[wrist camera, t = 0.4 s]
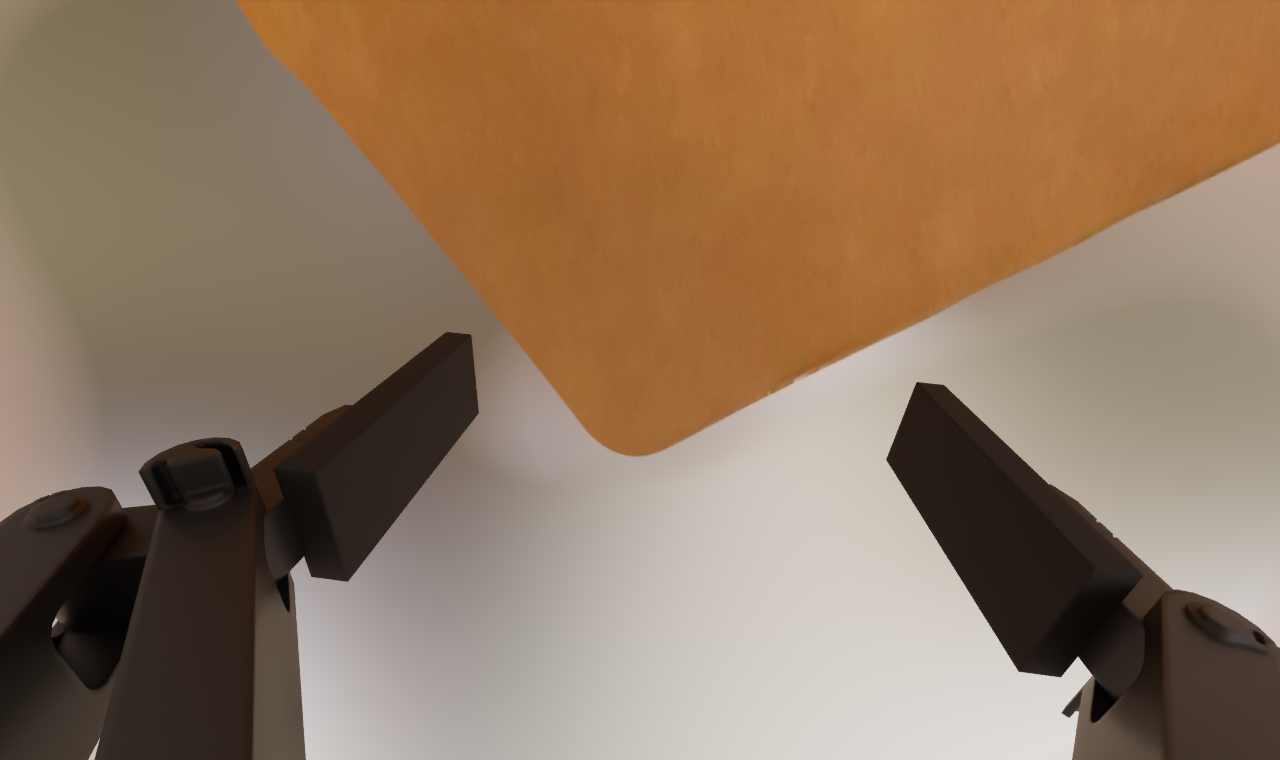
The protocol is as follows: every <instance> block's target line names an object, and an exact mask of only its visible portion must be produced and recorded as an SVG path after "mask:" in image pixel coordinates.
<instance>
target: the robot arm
mask: <svg viewBox="0 0 1280 760" xmlns="http://www.w3.org/2000/svg"><path fill="white" fill-rule="evenodd" d="M478 413H479V411H478V400H477V390H476V379H475V369H474V358H473V348H472V338H471V335H470V334H460V333H451V332H446V333H445V334H443V335H442V336H441V337H439V338H438V339H437V340H436V341H435V342H433V343H432V344H430V345H429V346H428V347H427V348H425V349H424V350H423V351H422V352H420V353H419V354H418V355H416V356H415V357H414V358H413V359H411V360H410V361H409V362H407V363H406V364H405V365H404V366H402V367H401V368H400V369H399V370H397V371H396V372H395V373H393V374H392V375H391V376H390V377H388V378H387V379H386V380H385V381H383V382H382V383H381V384H379V385H378V386H377V387H376V388H374V389H373V390H372V391H370V392H369V393H368V394H367V395H365V396H364V397H363V398H361V399H360V400H359V401H358V402H356V403H355V404H354V405H344V406H342V407H340V408H337V409H335V410H333V411H330V412H328V413H326V414H324V415H322V416H321V417H319V418H318V419H317V420H315V421H314V422H313V423H311V424H310V425H309V426H307V428H306V430H302V431H301V432H299V433H298V434H297V435H296V436H294V437H293V439H292V440H288V441H287V442H286V443H284V444H283V445H282V446H280V447H279V448H278V449H276V450H275V451H274V452H272V453H271V454H270V455H268V456H267V457H266V458H264V459H263V460H262V461H260V462H259V463H258V464H256V465H255V466H254V467H252V468H251V469H250V467H249V464H248V462H247V459H246V456H245V454H244V451H243V449H242V447H241V444H240V442H238V441H236V440H233V439H230V438H207V439H200V440H195V441H191V442H187V443H184V444H181V445H177V446H175V447H172V448H170V449H168V450H166V451H163V452H161V453H159V454H157V455H156V456H154V457H153V458H151V459H150V460H148V461H147V462H146V463H145V464H144V465H143V467H142V468H141V469H140V471H139V474H140V475H141V477H142V480H143V481H144V483H145V485H146V487H147V489H148V491H149V493H150V495H151V497H152V499H153V500H154V503H155V504H156V505H149V506H139V507H129V508H122V507H121V505H120V503H119V501H118V500H117V498H116V496H115V495H114V493H113V491H112V490H111V489H108V488H104V487H100V486H99V487H81V488H77V489H72V490H67V491H61V492H57V493H54V494H52V495H50V496H49V495H48V496H45V497H42V498H40V499H38V500H36V501H35V502H33V503H31V504H28V505H26V506H24V507H22V508H20V509H18V510H17V511H15V512H14V513H12V514H11V515H10V516H8V517H7V518H5V519H4V520H3V521H1V522H0V760H88V759H89V757H90V755H91V753H92V751H93V749H94V747H95V746H96V744H97V742H98V740H99V738H100V741H99V745H98V749H97V752H96V757H95V760H306V758H305V743H304V728H303V713H302V697H301V682H300V667H299V653H298V637H297V621H296V607H295V592H294V582H293V580H292V577H291V574H290V570H291V569H292V568H293V567H294V566H295V565H296V564H297V563H298V562H299V561H300V560H301V559H302V558H303V556H304V557H305V560H306V563H307V565H308V568H309V571H310V574H311V577H317V578H325V579H332V580H340V581H349V579H350V578H351V577H352V576H353V574H354V573H355V572H356V571H357V569H358V568H359V567H360V565H361V564H362V563H363V561H364V560H365V559H366V558H367V556H368V555H369V554H370V552H371V551H372V550H373V549H374V547H375V546H376V545H377V543H378V542H379V540H381V538H382V537H383V536H384V534H385V533H386V532H387V530H388V529H389V528H390V527H391V525H392V524H393V523H394V522H395V520H396V519H397V518H398V516H399V515H400V514H401V513H402V511H403V510H404V509H405V507H406V506H407V505H408V503H409V502H410V501H411V500H412V498H413V497H414V496H415V494H416V493H417V492H418V490H419V489H420V488H421V487H422V485H423V484H424V483H425V481H426V480H427V479H428V478H429V476H430V475H431V474H432V473H433V471H434V470H435V469H436V467H437V466H438V465H439V463H440V462H441V461H442V460H443V458H444V457H445V456H446V455H447V453H448V452H449V451H450V449H451V448H452V447H453V445H454V444H455V443H456V442H457V440H458V439H459V438H460V436H461V435H462V433H463V432H464V431H465V430H466V429H467V427H468V426H469V425H470V424H471V422H472V421H473V420H474V418H475V417H476V416H477V414H478ZM886 460H887V462H888V463H889V465H890V466H891V468H892V469H893V471H894V473H895V474H896V476H897V478H898V479H899V481H900V482H901V484H902V485H903V487H904V489H905V490H906V492H907V494H908V495H909V497H910V498H911V500H912V502H913V503H914V505H915V506H916V508H917V510H918V511H919V512H920V514H921V516H922V517H923V519H924V521H925V522H926V524H927V525H928V527H929V529H930V530H931V532H932V533H933V535H934V537H935V538H936V540H937V541H938V543H939V545H940V546H941V548H942V550H943V551H944V553H945V554H946V556H947V558H948V559H949V561H950V562H951V564H952V566H953V567H954V569H955V570H956V572H957V574H958V575H959V577H960V578H961V580H962V581H963V583H964V584H965V586H966V588H967V589H968V591H969V593H970V594H971V596H972V597H973V599H974V601H975V602H976V604H977V606H978V607H979V609H980V610H981V612H982V613H983V615H984V617H985V618H986V620H987V622H988V623H989V625H990V626H991V628H992V630H993V631H994V633H995V634H996V636H997V637H998V639H999V641H1000V642H1001V644H1002V645H1003V647H1004V649H1005V650H1006V652H1007V653H1008V655H1009V657H1010V658H1011V660H1012V661H1013V663H1014V665H1015V666H1016V668H1017V669H1018V671H1019V672H1026V673H1034V674H1041V675H1048V676H1056V677H1061V676H1062V675H1063V674H1064V672H1066V670H1067V669H1068V668H1069V667H1070V665H1071V664H1072V663H1073V662H1074V660H1075V659H1076V658H1077V657H1079V658H1080V659H1081V661H1082V662H1083V663H1084V665H1085V666H1086V667H1087V669H1088V670H1089V671H1090V672H1091V674H1092V675H1093V676H1092V677H1091V678H1090V679H1089V681H1088V682H1087V683H1086V684H1085V685H1084V686H1083V687H1082V688H1081V690H1080V691H1079V692H1078V693H1077V694H1076V695H1075V697H1074V698H1073V699H1072V700H1071V701H1070V702H1069V704H1068V705H1067V706H1066V707H1065V709H1064V710H1063V712H1062V713H1063V714H1064V715H1066V716H1067V717H1070V716H1071V715H1072V714H1073V713H1074V712H1075V711H1079V717H1078V724H1077V730H1076V737H1075V744H1074V752H1073V759H1072V760H1280V648H1279V647H1277V646H1276V644H1275V643H1274V641H1272V640H1271V639H1270V638H1269V637H1268V636H1267V635H1266V634H1265V633H1264V632H1263V631H1262V630H1261V629H1260V628H1258V627H1257V626H1256V625H1254V624H1253V623H1251V622H1250V621H1248V620H1247V619H1246V618H1244V617H1243V616H1241V615H1240V614H1238V613H1237V612H1235V611H1233V610H1231V609H1229V608H1227V607H1226V606H1224V605H1222V604H1220V603H1218V602H1216V601H1214V600H1211V599H1209V598H1206V597H1203V596H1201V595H1198V594H1195V593H1191V592H1187V591H1181V590H1173V589H1172V588H1171V587H1170V586H1169V585H1168V584H1167V583H1165V582H1164V581H1163V580H1162V579H1161V578H1160V577H1159V576H1158V575H1157V574H1155V572H1154V571H1152V570H1151V569H1150V568H1149V567H1148V566H1147V565H1146V564H1145V563H1144V562H1143V561H1142V560H1141V559H1139V558H1138V557H1137V556H1136V555H1135V554H1134V553H1133V552H1132V551H1131V550H1130V549H1129V548H1127V547H1126V546H1125V545H1124V544H1123V543H1122V542H1121V541H1120V540H1119V539H1118V538H1114V537H1113V534H1112V533H1111V532H1110V531H1109V530H1108V529H1107V528H1106V527H1105V526H1103V524H1101V523H1099V522H1097V521H1096V520H1097V519H1096V518H1095V517H1094V516H1093V515H1092V514H1091V513H1090V512H1088V511H1087V510H1086V509H1085V508H1084V507H1083V506H1082V505H1081V504H1080V503H1079V502H1078V501H1076V500H1074V499H1073V498H1071V497H1070V496H1068V495H1067V494H1065V493H1064V492H1062V491H1060V490H1059V489H1057V488H1056V487H1054V486H1052V485H1049V484H1048V483H1047V482H1046V481H1045V480H1043V479H1042V478H1041V477H1040V476H1039V475H1038V474H1037V473H1036V472H1035V471H1034V470H1033V469H1031V467H1030V466H1028V464H1027V463H1026V462H1025V461H1023V460H1022V459H1021V458H1020V457H1019V456H1018V455H1017V454H1016V453H1015V452H1014V451H1013V450H1012V449H1011V448H1010V447H1009V446H1008V445H1007V444H1005V443H1004V442H1003V441H1002V440H1001V439H1000V438H999V437H998V436H997V435H996V434H995V433H994V432H993V431H992V430H991V429H990V428H988V426H987V425H985V424H984V423H983V422H982V421H981V420H980V419H979V418H978V417H977V416H976V415H975V414H974V413H973V412H972V411H971V410H970V409H969V408H968V407H966V406H965V405H964V404H963V403H962V402H961V401H960V400H959V399H958V398H957V397H956V396H955V395H954V394H953V393H952V392H951V391H949V389H948V388H946V387H945V386H944V385H938V384H929V383H920V382H917V383H916V385H915V388H914V390H913V393H912V395H911V398H910V400H909V403H908V406H907V408H906V411H905V413H904V416H903V418H902V421H901V424H900V426H899V429H898V431H897V434H896V436H895V439H894V441H893V444H892V447H891V449H890V452H889V454H888V457H887V459H886ZM55 618H57V620H58V621H57V623H56V624H55V625H54V627H53V628H52V623H53V621H54V620H55Z"/></svg>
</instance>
